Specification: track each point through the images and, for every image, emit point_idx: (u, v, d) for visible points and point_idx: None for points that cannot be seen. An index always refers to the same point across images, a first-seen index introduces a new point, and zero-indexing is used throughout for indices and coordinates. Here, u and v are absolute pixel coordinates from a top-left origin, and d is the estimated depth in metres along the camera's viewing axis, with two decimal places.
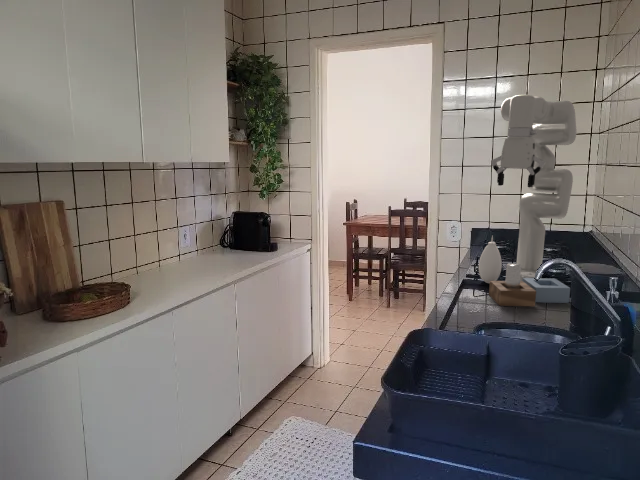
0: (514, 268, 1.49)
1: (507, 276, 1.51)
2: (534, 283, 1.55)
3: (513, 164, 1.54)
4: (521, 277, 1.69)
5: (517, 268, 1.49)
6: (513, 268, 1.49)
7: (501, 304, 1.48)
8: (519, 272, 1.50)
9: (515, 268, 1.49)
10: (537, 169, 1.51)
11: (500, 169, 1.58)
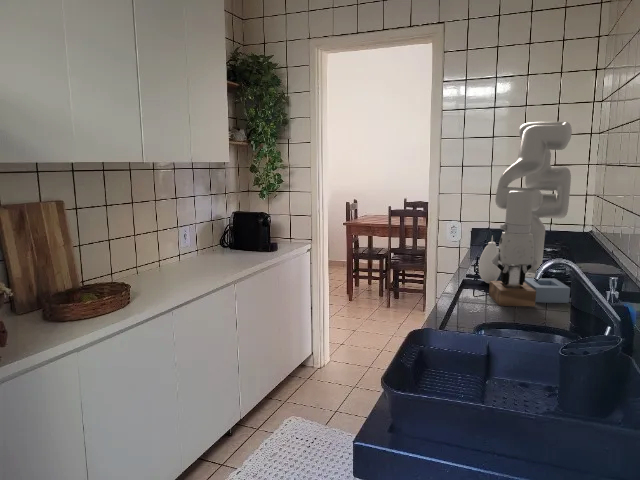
0: (514, 268, 1.49)
1: None
2: (534, 283, 1.55)
3: None
4: None
5: (517, 268, 1.49)
6: (513, 268, 1.49)
7: (501, 304, 1.48)
8: (519, 272, 1.50)
9: (515, 268, 1.49)
10: None
11: None
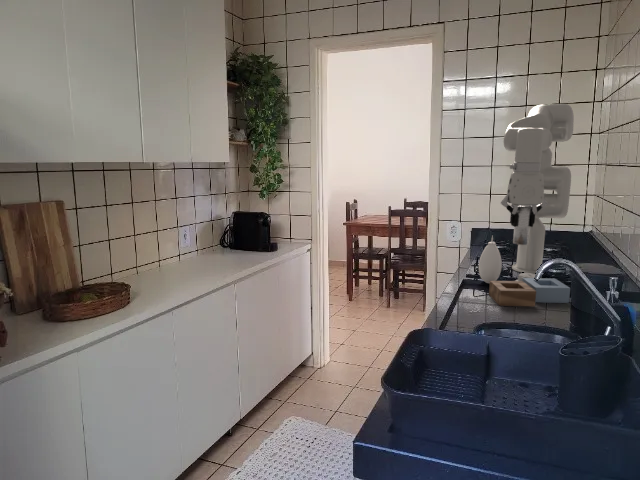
0: (524, 209, 1.46)
1: None
2: (534, 283, 1.55)
3: None
4: (521, 278, 1.67)
5: (527, 209, 1.46)
6: (523, 209, 1.46)
7: (501, 304, 1.48)
8: (529, 213, 1.46)
9: (525, 209, 1.46)
10: None
11: None
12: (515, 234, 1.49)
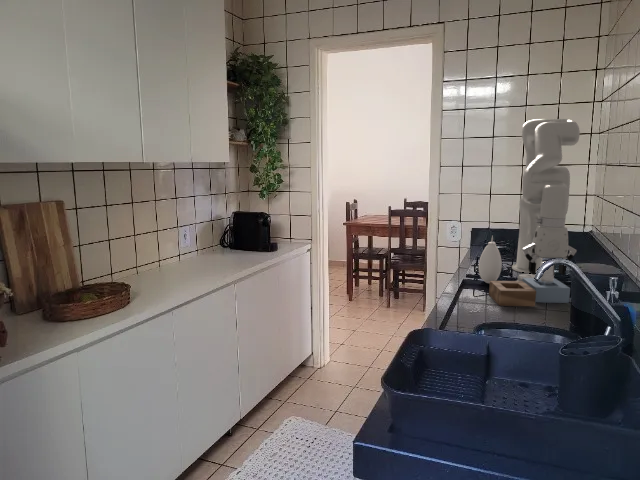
0: None
1: None
2: (534, 283, 1.55)
3: None
4: (520, 279, 1.66)
5: None
6: None
7: (501, 304, 1.48)
8: (553, 269, 1.53)
9: None
10: None
11: None
12: None
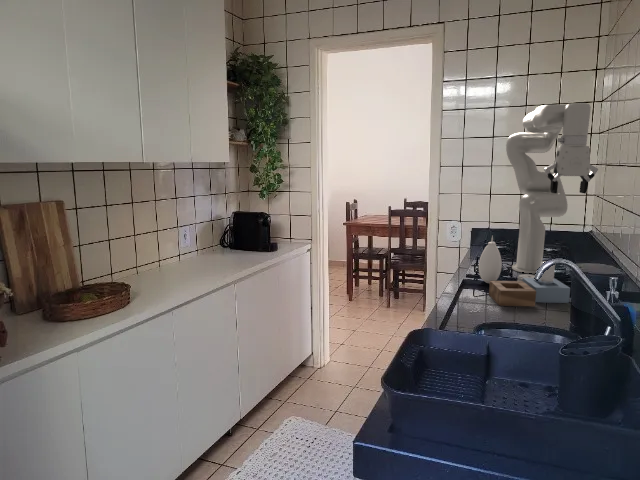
0: None
1: None
2: (534, 283, 1.55)
3: None
4: (520, 279, 1.66)
5: None
6: None
7: (501, 304, 1.48)
8: (553, 269, 1.53)
9: None
10: None
11: None
12: None
